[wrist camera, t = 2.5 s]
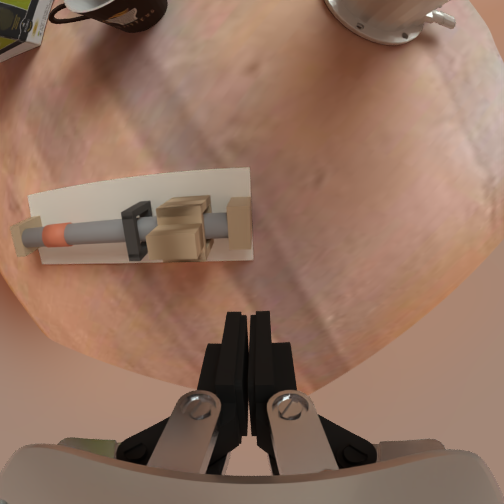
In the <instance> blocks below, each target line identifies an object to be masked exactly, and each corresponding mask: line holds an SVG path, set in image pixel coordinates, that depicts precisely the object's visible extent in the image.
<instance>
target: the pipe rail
mask: <svg viewBox="0 0 504 504" xmlns="http://www.w3.org/2000/svg"><path fill="white" fill-rule="evenodd" d="M201 195H210V196H211V210H212V213H203V217H204V228H205V239H214V244H213V246H212V248H211V251H210V253H209V255H208V257H207V260H206V261H242V260H253V259H254V258H253V233H252V208H251V183H250V167H240V168H221V169H206V170H192V171H181V172H170V173H160V174H151V175H143V176H135V177H127V178H120V179H113V180H106V181H100V182H93V183H87V184H81V185H76V186H70V187H65V188H60V189H55V190H50V191H45V192H40V193H36V194H31V195H28V202H29V208H30V213H31V217H30V218H28V219H26V220H23V221H21V222H19V223H17V224H15V225H13V226H11V227H10V230H11V234H12V239H13V243H14V247H15V251H16V254H17V257H25V256H27V255H29V254H31V253H32V252H34V251H35V250H37V249H38V250H39V254H40V258H41V262H42V264H100V263H156V262H163V260H149V254H148V253H147V254H146V256H145V257H144V258H143V259H142V260H141V261H129V257H128V252H127V247H126V241H125V236H124V230H123V224H122V217H121V212H122V211H124V210H126V209H128V208H129V207H131V206H133V205H135V204H137V203H138V202H140V201H151V209H152V217H140V216H139V215H138V216H137V217H136V219H137V226H138V232H139V238H140V243H141V242H142V241H146V235H148V234H149V233H150V232H151V231H152V230H153V229H154V228H155V227H157V226H158V224H157V216H156V208H157V207H159V206H160V205H162V204H163V203H165V202H166V201H168V200H169V199H171V198H172V197H186V196H201Z"/></svg>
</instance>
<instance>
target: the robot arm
mask: <svg viewBox="0 0 504 504" xmlns="http://www.w3.org/2000/svg"><path fill="white" fill-rule="evenodd" d="M324 1H325V3H326V5H327V6H328V8H329V10H330V11H331V12H332V14H333V15H334V16H335V17H336V18H337V19H338V20H339V21H340V22H341V23H342V24H343V25H344V26H345V27H347V28H348V29H349V30H351V31H352V32H354V33H356V34H357V35H359V36H361V37H363V38H365V39H367V40H370V41H372V42H376V43H379V44H384V45H401V44H405V43H408V42H409V41H411V40H413V39H414V38H416V37H417V36H418V35H419V34H420V32H421V31H422V28H423V25H424V22H428V23H433V22H435V23H438V24H439V25H442V26H445V27H447V28H450V29H453V28H454V27H455V24H456V22H455V19H454V17H453V16H451V15H448V14H446V13H443V12H441V11H440V12H439V11H437V10H435V9H437V8H441V7H442V5H444V4H445V3H447V2H449V1H450V0H324ZM357 27H358V28H359V29H358V28H357ZM248 402H249V409H250V421H251V432H252V433H251V434H252V436H257V445H258V446H259V447H260V448H261V449H263V450H264V451H265V452H267V457H268V462H269V466H270V471H271V476H228V475H225V473H226V470H227V466H228V463H229V459H230V452H231V451H232V450H233V449H234V448H236V447H237V446H239V444H241V438H242V436H247V427H248ZM0 504H504V497H503V494H502V492H501V490H500V487H499V485H498V483H497V481H496V479H495V477H494V475H493V474H492V472H491V470H490V469H489V467H488V466H487V464H486V463H485V462H484V461H483V459H482V458H481V457H479V456H478V455H477V454H475V453H472V452H470V451H464V450H451V449H449V450H445V447H444V445H443V444H442V443H441V442H440V441H438V440H435V439H420V440H407V441H384V442H380V443H379V444H371V443H370V442H368V441H367V440H365V439H363V438H361V437H359V436H357V435H355V434H353V433H351V432H349V431H348V430H346V429H344V428H342V427H340V426H338V425H336V424H335V423H333V422H331V421H329V420H327V419H326V418H324V417H322V416H320V415H318V414H317V412H316V409H315V406H314V404H313V402H312V400H311V398H310V397H309V396H307V395H306V394H305V393H302V392H300V391H297V387H296V380H295V373H294V366H293V358H292V351H291V345H290V342H285V343H272V342H271V326H270V311H256V315H251V318H250V342H249V348H248V332H247V316H246V315H241V312H227V315H226V321H225V327H224V333H223V339H222V344H208V345H207V348H206V352H205V357H204V361H203V365H202V370H201V374H200V378H199V383H198V387H197V390H196V391H191V392H189V393H186V394H185V395H183V396H182V397H181V398H180V399H179V400H178V402H177V404H176V406H175V408H174V410H173V412H172V414H171V416H170V417H168V418H166V419H164V420H163V421H161V422H159V423H157V424H155V425H153V426H151V427H149V428H148V429H145V430H144V431H142V432H140V433H138V434H136V435H133V436H131V437H129V438H128V439H126V440H124V441H123V442H121V443H117V442H116V440H99V439H98V440H97V439H83V438H65V439H63V440H61V441H60V442H59V443H58V445H55V444H30V445H26V446H23V447H21V448H19V449H18V450H17V451H15V452H14V454H13V455H12V456H11V457H10V458H9V460H8V461H7V463H6V464H5V466H4V468H3V469H2V471H1V473H0Z"/></svg>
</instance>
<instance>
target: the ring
mask: <svg viewBox="0 0 504 504" xmlns="http://www.w3.org/2000/svg"><path fill="white" fill-rule="evenodd" d="M138 215H139V216H140V217H152V209H151V201H140V202H138V203H137V204H135V205H133V206H131V207H129V208H128V209H126V210H124V211H122V212H121V217H122V224H123V230H124V236H125V241H126V247H127V252H128V257H129V261H141V260H142V259H143V258H144V257H145V256H146V254H147V253H148V249H147V242H146V241H142V242H141V243H140V238H139V232H138V226H137V219H136V217H137V216H138Z"/></svg>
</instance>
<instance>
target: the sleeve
mask: <svg viewBox="0 0 504 504" xmlns="http://www.w3.org/2000/svg"><path fill="white" fill-rule="evenodd" d="M203 213H212V210H211V196H210V195H201V196H186V197H172V198H171V199H169V200H168V201H166V202H165V203H163V204H162V205H160V206H159V207H157V208H156V216H157V224H158V226H157V227H155V228H154V229H153V230H152V231H151V232H150V233H149V234H148V235H146V242H147V249H148V254H149V260H163V263H165V262H206V260H207V257H208V255H209V253H210V251H211V248H212V246H213V244H214V239H205V228H204V217H203Z"/></svg>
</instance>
